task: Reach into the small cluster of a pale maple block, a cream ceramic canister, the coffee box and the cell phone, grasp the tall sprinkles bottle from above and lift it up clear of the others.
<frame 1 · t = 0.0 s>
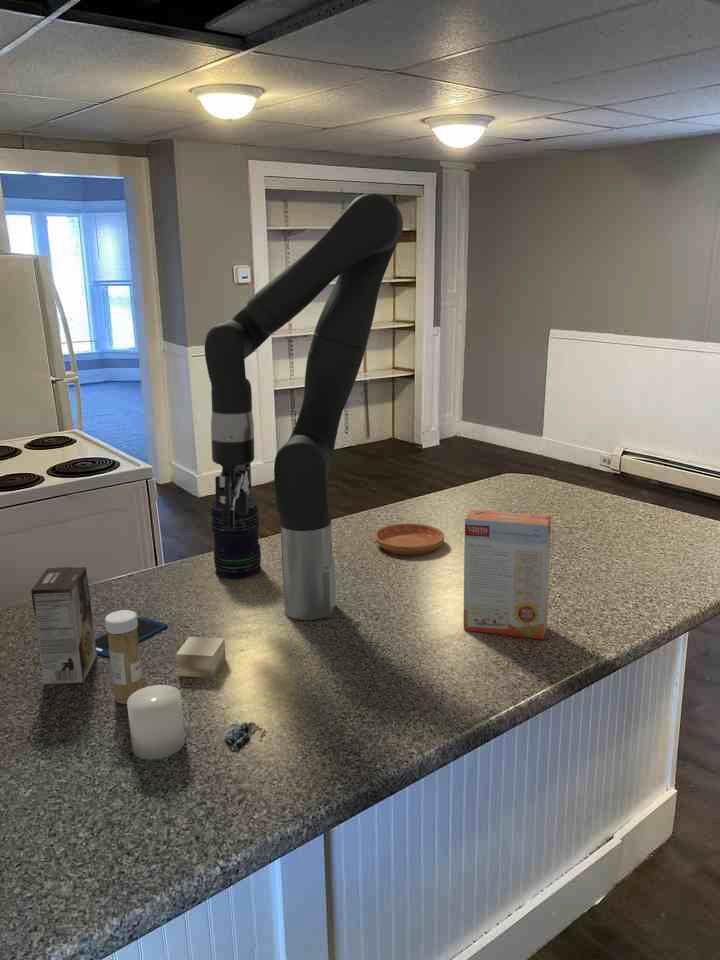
hand: (235, 521, 144), 17 cm above the countertop, tool pointing down, fingers open, 8 cm apart
cracker box: (504, 629, 138), on the countertop
blueberries: (241, 745, 107), on the countertop
storage jar: (238, 571, 167), on the countertop
maple block: (202, 668, 127), on the countertop
saucer: (409, 547, 180), on the countertop
sprinkles bottle: (129, 698, 118), on the countertop
coffee box: (71, 670, 127), on the countertop
cream canister: (158, 744, 107), on the countertop
cell phone: (126, 640, 138), on the countertop
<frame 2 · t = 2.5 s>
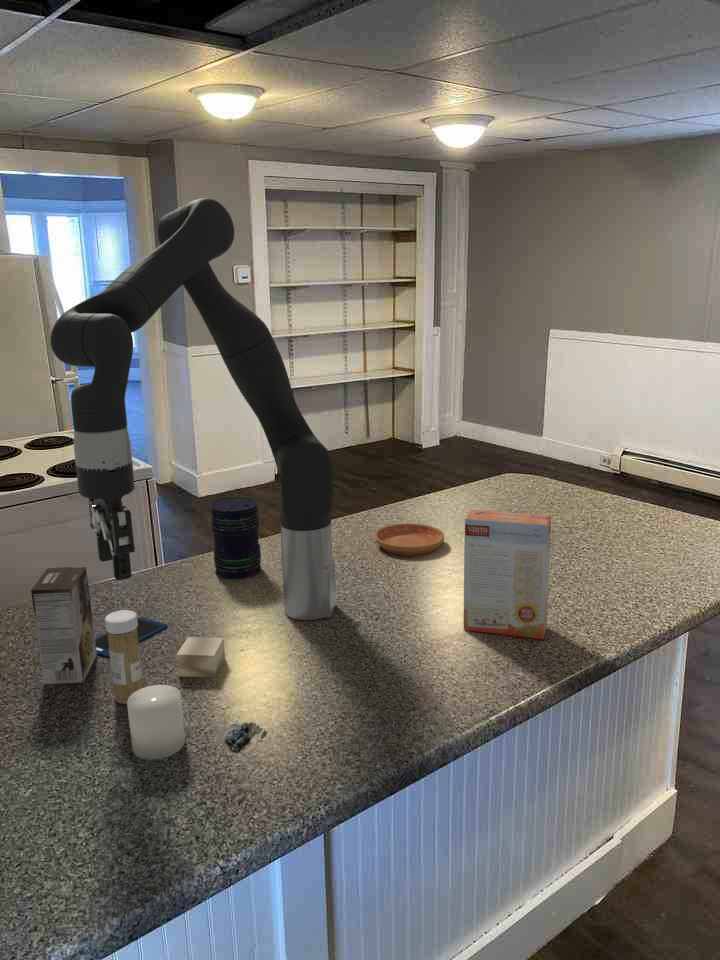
hand: (114, 569, 113), 21 cm above the countertop, tool pointing down, fingers open, 8 cm apart
nothing on the countertop moved.
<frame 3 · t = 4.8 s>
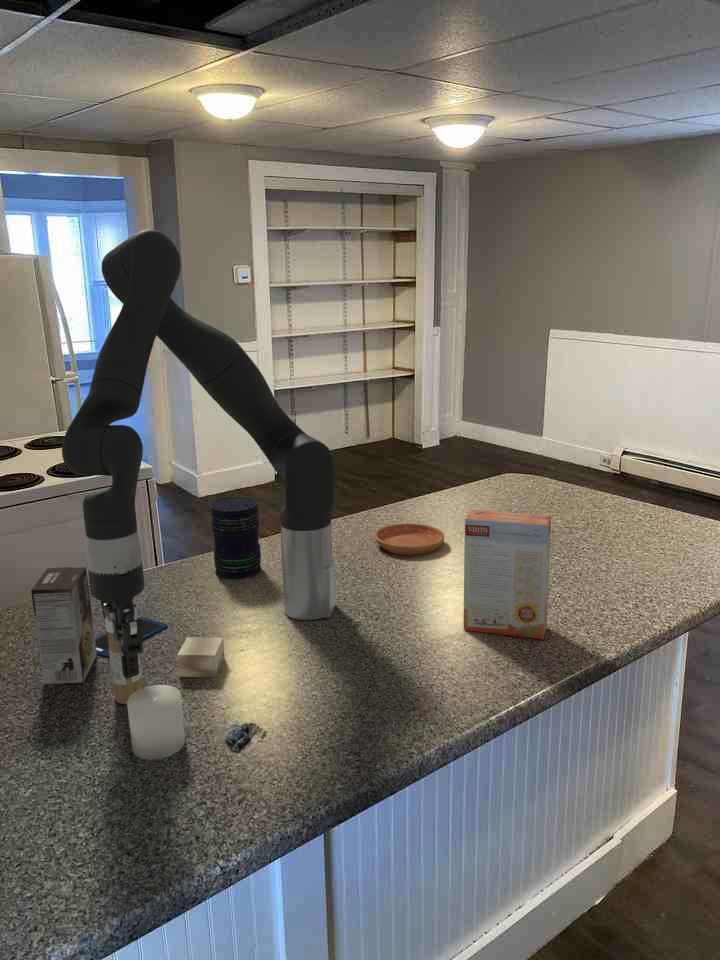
hand: (126, 668, 117), 5 cm above the countertop, tool pointing down, fingers closed on sprinkles bottle, 4 cm apart
sprinkles bottle: (129, 698, 118), on the countertop, touching gripper
everything else where it was.
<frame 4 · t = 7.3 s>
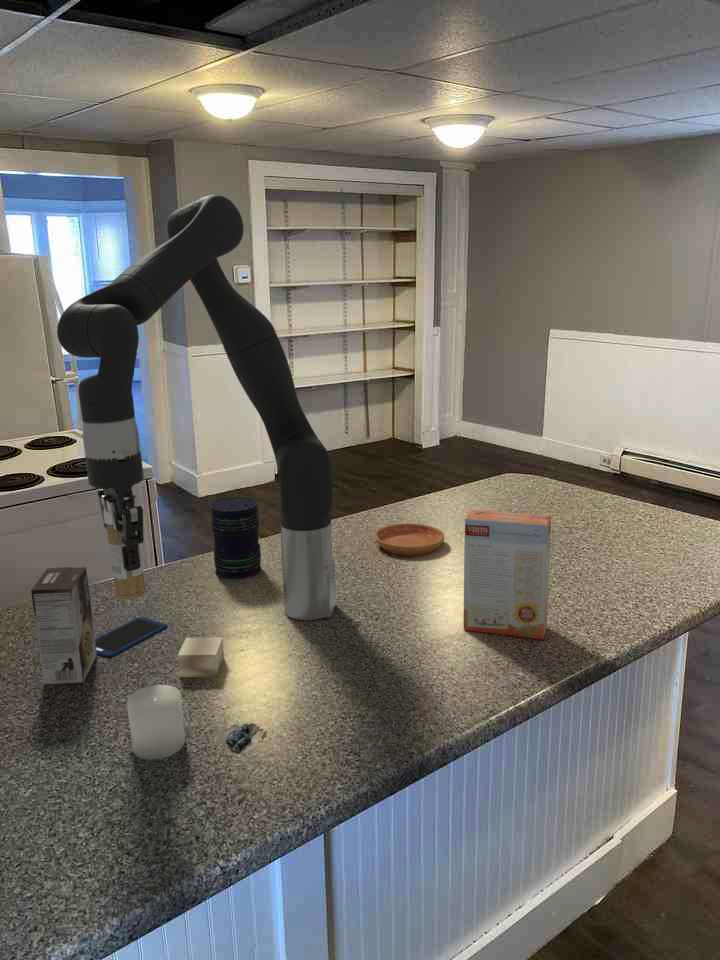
hand: (127, 563, 114), 21 cm above the countertop, tool pointing down, fingers closed on sprinkles bottle, 4 cm apart
sprinkles bottle: (130, 595, 116), point 16 cm above the countertop, touching gripper
everything else where it was.
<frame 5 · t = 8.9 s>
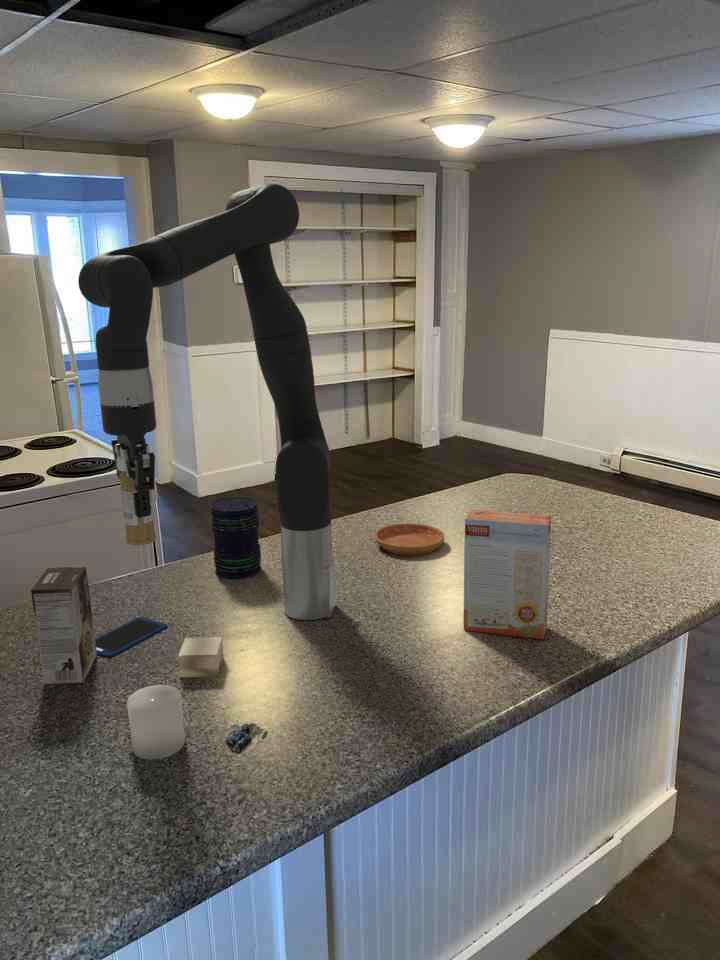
hand: (138, 511, 118), 27 cm above the countertop, tool pointing down, fingers closed on sprinkles bottle, 4 cm apart
sprinkles bottle: (141, 542, 119), point 22 cm above the countertop, touching gripper
everything else where it was.
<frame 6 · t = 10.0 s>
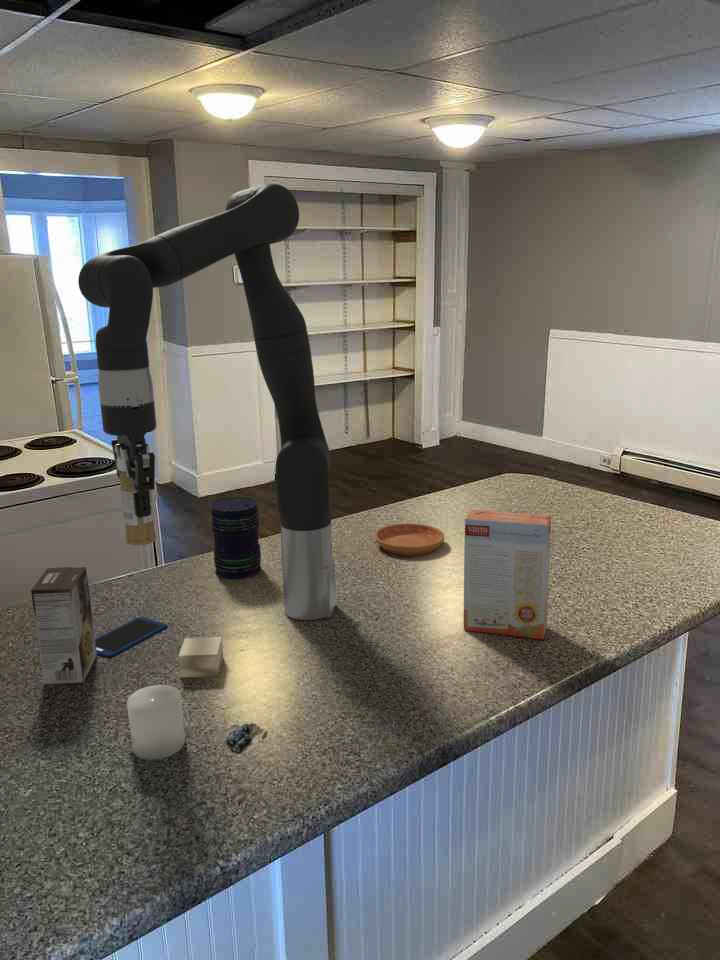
hand: (138, 511, 118), 27 cm above the countertop, tool pointing down, fingers closed on sprinkles bottle, 4 cm apart
sprinkles bottle: (141, 542, 119), point 22 cm above the countertop, touching gripper
everything else where it was.
at the end: sprinkles bottle point 22.2 cm above the countertop; the gripper is holding sprinkles bottle; maple block moved 0.2 cm from its start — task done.
